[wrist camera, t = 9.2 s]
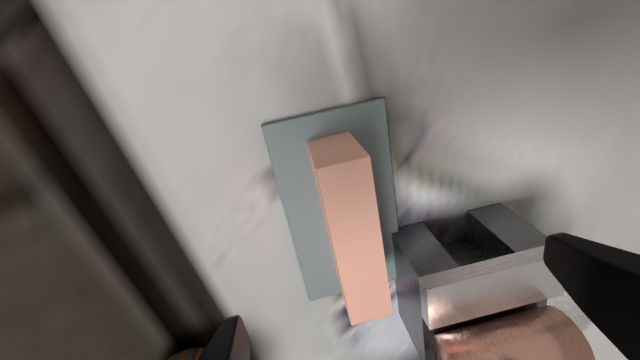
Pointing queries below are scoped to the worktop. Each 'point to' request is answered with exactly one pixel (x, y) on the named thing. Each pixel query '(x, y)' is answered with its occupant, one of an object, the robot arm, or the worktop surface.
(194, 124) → the worktop surface
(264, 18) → the worktop surface
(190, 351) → the vase
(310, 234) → the mat
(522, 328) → the dispenser
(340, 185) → the salmon pink rectangular block
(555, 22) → the worktop surface
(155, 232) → the worktop surface
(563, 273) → the robot arm
